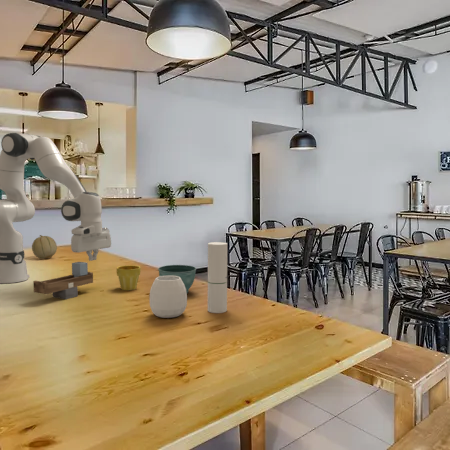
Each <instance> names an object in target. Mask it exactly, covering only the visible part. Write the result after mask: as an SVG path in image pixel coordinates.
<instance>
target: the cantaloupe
mask: <svg viewBox="0 0 450 450" xmlns="http://www.w3.org/2000/svg"><path fill="white" fill-rule="evenodd" d="M57 247H58V245H57V242H56V241H55V239H54V238H53V237H51V236H48V235H42V234H39V236H38V237H36V238H35V239H34V240H33V242H32V243H31V250H32V253H33V255H34V256H35V257H36V258H38V259H41V260H48V259H50V258H51V257H53V256H55V254H56V253H57V251H58V250H57V249H58V248H57Z"/></svg>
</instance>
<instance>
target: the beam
mask: <svg viewBox="0 0 450 450" xmlns="http://www.w3.org/2000/svg"><path fill="white" fill-rule="evenodd" d="M93 283H94V272H92V271H88V274H87V275H84V276H79V277H75V278H74V275H72V274H70V275H65V276H60V277H56V278H51V279H47V280H41V281H40V280H33V284H32V285H33V293H36V294H42V295H49V294H52V298H55V299H56V298H57V299H62V300H70V299H73V298H76V297H78V295H79V294H78V292H79V291H78V287H81V286H85V285H88V284H93Z"/></svg>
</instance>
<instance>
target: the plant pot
mask: <svg viewBox="0 0 450 450" xmlns="http://www.w3.org/2000/svg"><path fill="white" fill-rule="evenodd" d="M116 276H117V277H118V281H119V285H120V290H122V291H134V290H137V287H138V281H139V276H141V266H140V265H134V264H132V265H130V264H128V265H119V266H117V267H116Z"/></svg>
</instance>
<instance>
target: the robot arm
mask: <svg viewBox="0 0 450 450" xmlns="http://www.w3.org/2000/svg"><path fill="white" fill-rule="evenodd" d="M0 142H1V146H0V147H1V151H0V190H1V191H3V192H4V193H5V196H6V199H0V284H13V283H20V282H24V281H27V280H28V279H29V278H30V274H28V267H27V262H26V260H25V250H24V240H23V239H24V236H23V234H22V233H21V232H20V231H18V230H16V229H15V227H14V224H13V223H20V222H22V223H23V222H26V221H29V220H31V219H33V218H34V216H35V213H36V208H35V206H34V203H33V202H32V201H31V200H29V198H28V197H27V195H26V192H25V185H24V183H25V182H24V181H25V180H24V179H25V164H26V163H25V162H26V161H27V160H28V159H29V160H31V161H34V160H35V162H36V164H37V167H38V169H39V170H40V172H41V174H42V175H43V176H44V177H45V178H47V179H49V180H51V181H54V182H57V183H59V184H62V185H64V186H65V187H66V188H67V189H68V190H69V193H71V194H72V196H73V198H71V199H69V200H65V201H64V202H63V203H62V204H61V207H60V212H61V213H60V214H61V216H62V218H63V219H64V220H65V221H67V222H80V225H77V226H76V227H75V228H72V229H71V230H70V231H71V235H72V236H71V240H70V241H71V242H70V245H71V246H70V247H71V248H70V249H71V251H72V252H73V253H84V252H86V255H87V257H88V261H89V262H90V261H97V256H98V253H99V250H103V249H108V248H111V247H112V240H111V238H112V237H111V234H110V229H109V228H107V227H103V220H102V210H103V209H102V208H103V207H102V200H101V196H100V195H99V194H98V193H96V192H91V191H87V190H86V188H85V187H84V185H83V183H82V182H81V181H80V179H79V178H78V176H77V175H76V173H75V172H74V171H73V170H72V169H71V167H69V165H68V163H66V161H65V160H64V157H63V156H62V154H61V152H60V151H59V149H58V146H56V144H55V143H54V141H53V140H52V139H51V138H50V137H48V136H40V135H34V134H29V133H17V132H10V133H9V132H8V133H6V134H5V135H4V136H3V137H2V138H1V141H0Z"/></svg>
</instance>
